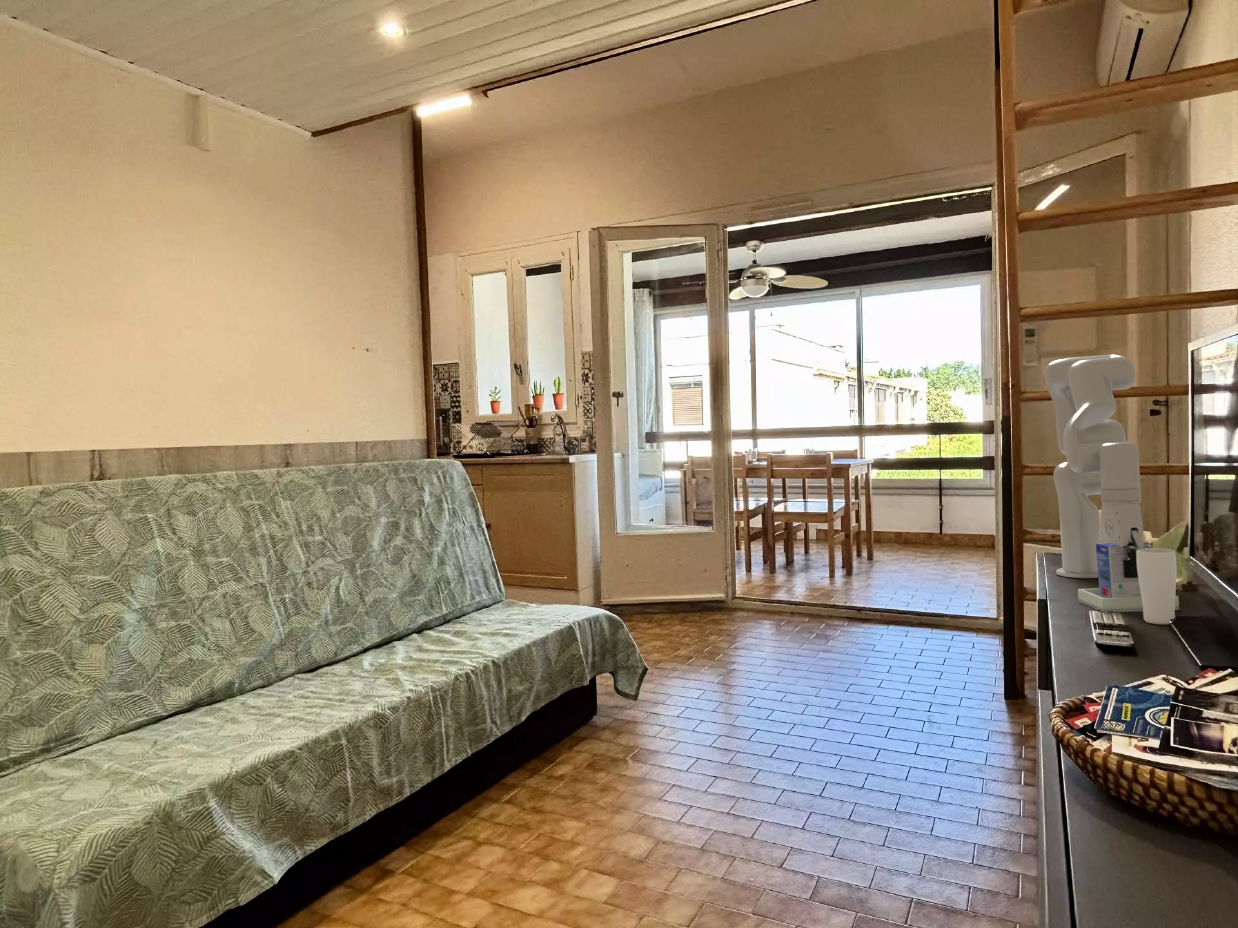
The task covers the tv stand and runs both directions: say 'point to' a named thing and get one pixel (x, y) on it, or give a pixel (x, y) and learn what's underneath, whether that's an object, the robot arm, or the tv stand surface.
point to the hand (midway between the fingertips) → (1124, 574)
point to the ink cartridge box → (1115, 572)
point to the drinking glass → (1157, 583)
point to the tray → (1112, 601)
